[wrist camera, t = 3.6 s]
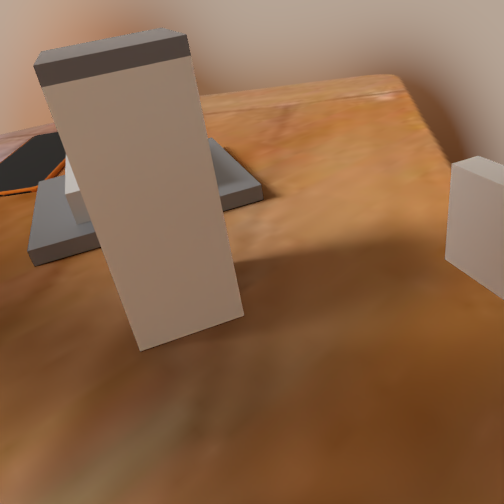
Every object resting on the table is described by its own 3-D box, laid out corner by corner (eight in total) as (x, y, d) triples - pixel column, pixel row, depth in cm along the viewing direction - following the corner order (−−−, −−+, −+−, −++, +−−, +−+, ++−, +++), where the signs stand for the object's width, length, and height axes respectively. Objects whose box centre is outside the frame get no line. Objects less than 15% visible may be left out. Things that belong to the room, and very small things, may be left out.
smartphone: (-44, 208, 38) (-49, 198, 37) (36, 142, 52) (33, 135, 52) (44, 194, 37) (40, 185, 37) (101, 132, 51) (98, 125, 51)
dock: (34, 266, 26) (12, 219, 25) (43, 193, 36) (28, 156, 35) (263, 199, 29) (256, 153, 28) (213, 149, 39) (206, 113, 38)
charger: (139, 351, 19) (33, 65, 13) (128, 293, 22) (41, 51, 17) (244, 315, 20) (186, 34, 14) (216, 265, 23) (161, 27, 18)
